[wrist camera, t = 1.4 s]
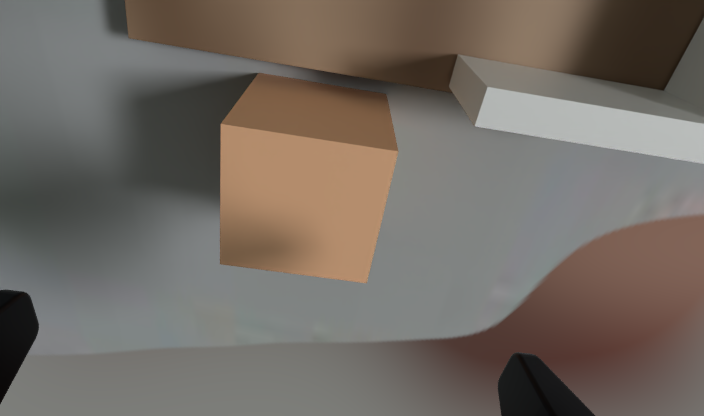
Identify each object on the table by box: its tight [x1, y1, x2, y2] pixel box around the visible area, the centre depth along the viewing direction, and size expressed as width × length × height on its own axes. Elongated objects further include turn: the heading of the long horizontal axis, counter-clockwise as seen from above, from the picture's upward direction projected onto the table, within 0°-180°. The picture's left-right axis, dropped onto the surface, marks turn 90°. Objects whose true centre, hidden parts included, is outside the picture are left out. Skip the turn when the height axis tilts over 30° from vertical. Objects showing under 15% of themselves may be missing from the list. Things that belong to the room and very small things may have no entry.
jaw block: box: [220, 73, 398, 283], centre depth 14 cm, size 4×4×5 cm
